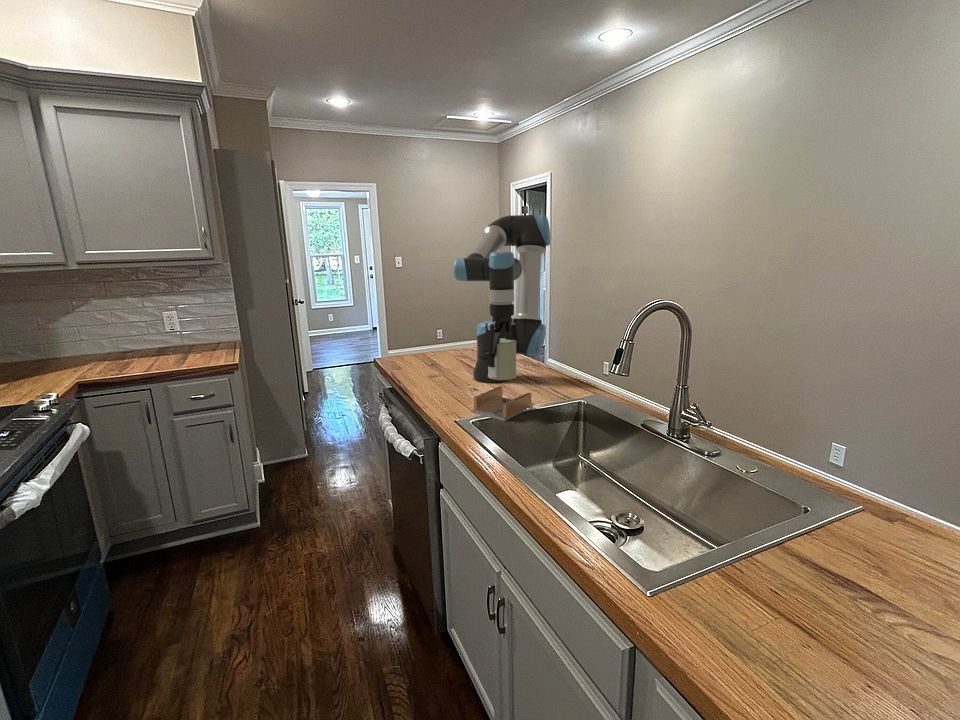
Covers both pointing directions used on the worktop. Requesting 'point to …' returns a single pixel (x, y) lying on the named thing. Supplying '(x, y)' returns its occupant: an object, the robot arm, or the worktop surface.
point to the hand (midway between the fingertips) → (502, 373)
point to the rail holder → (500, 404)
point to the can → (505, 360)
